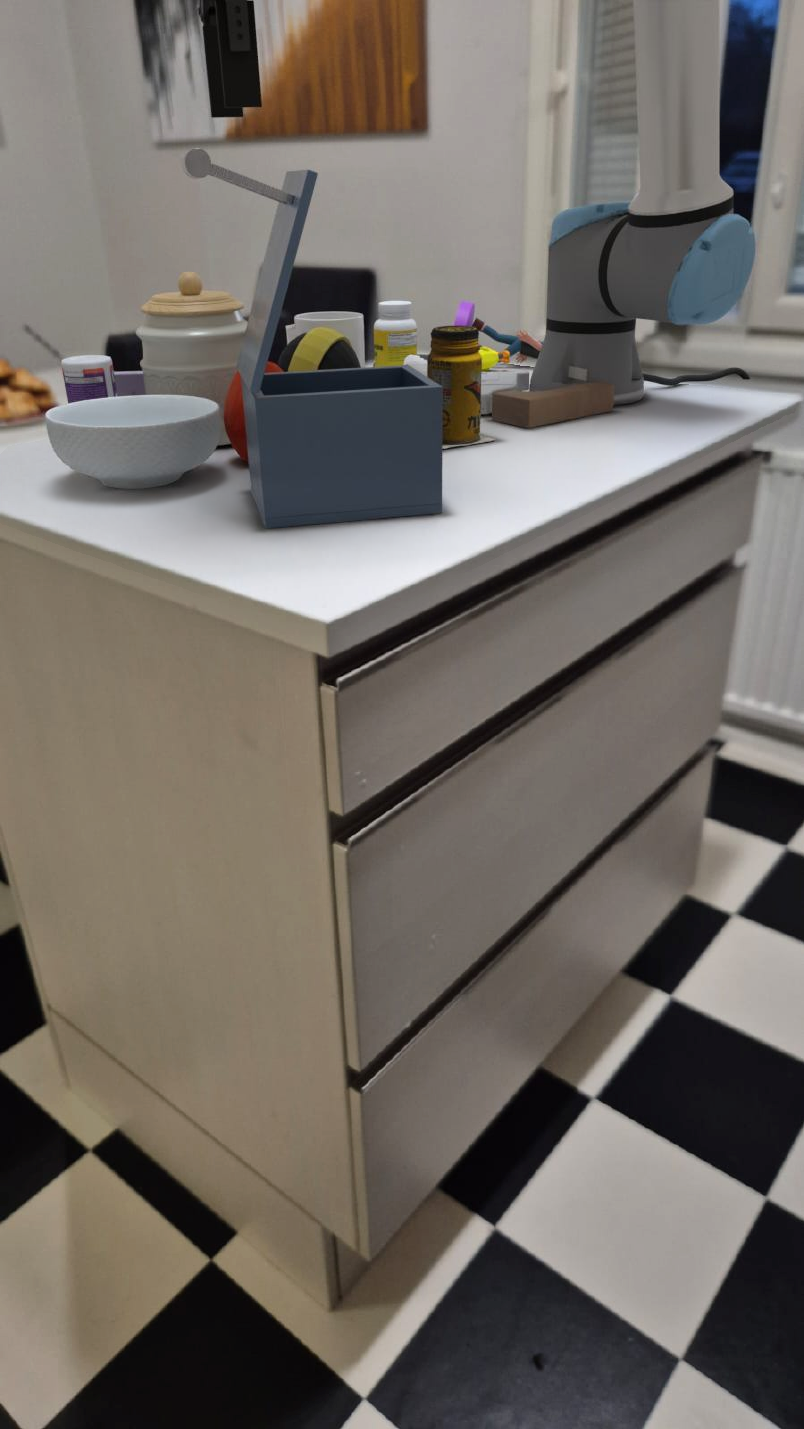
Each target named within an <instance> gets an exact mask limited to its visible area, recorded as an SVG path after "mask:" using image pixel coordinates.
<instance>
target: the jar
mask: <svg viewBox="0 0 804 1429" xmlns="http://www.w3.org/2000/svg"><path fill="white" fill-rule="evenodd" d="M177 287H178V290H179V291H171V292H170V291H169V292H163V293H158V294H154V295H152V296H151V298H150V300H148V301H147V302H146V303H144V304H143V305H142V306H140V312H141V313H142V314H145V317H144V322H143V323H142V324H140V326H139V327H138V328H137V329H136V330H135V335H136V336H137V337H138V338H139V339H140V340H141V345H142V359H141V360H140V362H139V365H140V368H141V371H143V378H144V385H145V392H146V395H184V396H194V397H200V398H205V399H209V400H212V401H214V402H216V403H217V404H218V406H219V409H220V422H221V424H220V428H221V429H220V438H219V442H218V445H217V447H218V446H224V445H225V446H227V445H231V442H230V440H229V438H228V436H227V433H226V430H225V425H224V419H223V418H224V408H225V400H226V397H227V394H228V391H229V388H230V385H231V382H232V380H233V378H234V376H235V374H236V372H237V368H236V366H237V362H238V358H239V354H240V351H241V347H242V343H243V339H244V335H245V331H246V327H247V323H248V320H246V319H245V318H244V317H243V314H242V312H241V310H243V309H244V308H245V304H244V303H243V302H242V301H240V300H239V299H237V298H235V297H234V296H232V294H231V293H230V292H227V291H219V290H203V280H202V278H201V276H200V275H199V274H198V273H197V272H194V271H184V272H182V273H181V274H180V275H179V277H178V281H177Z"/></svg>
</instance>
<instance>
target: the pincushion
mask: <svg viewBox="0 0 804 1429" xmlns="http://www.w3.org/2000/svg"><path fill="white" fill-rule="evenodd" d="M404 365H409V366H411V367H412V368H414V369H415V370H417V371H418V372H420V373H422V374H423V375H425V376H426V377H427V360H424V359H423V358H420V356H418V355H409V356H407V357H406V358H405V360H404Z"/></svg>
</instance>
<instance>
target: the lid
mask: <svg viewBox="0 0 804 1429" xmlns="http://www.w3.org/2000/svg"><path fill="white" fill-rule="evenodd" d="M181 158H182V159H181V169H182V170H183V173H184V174H185V175H186V176H187V177H189V178H191V179H193V180H197V179H198V180H199V179H204V178H206V177H207V176H210V177H212V178H215V179H218V180H220V181H223V182H225V183H228V184H231V185H234V186H236V187H239V188H240V189H241V188H242V189H243V190H246V191H249V192H251V193H255V194H257V195H260V196H262V197H265V198H268V199H270V200H273V201H275V202H278V203H277V206H276V211H275V214H274V218H273V222H272V226H271V227H272V228H271V231H270V234H269V238H268V242H267V245H266V246H267V247H266V249H265V254H264V257H263V261H262V265H261V269H260V273H259V277H258V281H257V285H256V288H255V291H254V292H255V293H254V297H253V300H252V305H251V309H250V312H249V316H248V319H247V322H248V323H247V327H246V331H245V335H244V339H243V343H242V347H241V351H240V354H239V358H238V362H237V366H236V368H237V370H238V371H239V373H240V375H241V377H242V378H243V380H244V382H245V383H246V385H247V387H248V389H249V390H250V391H251V392H255V393H259V392H260V388H261V384H262V380H263V377H264V373H265V369H266V365H267V362H268V361H269V358H270V354H271V350H272V347H273V343H274V339H275V335H276V332H277V328H278V325H279V321H280V316H281V314H282V309H283V306H284V302H285V298H286V295H287V291H288V288H289V287H288V286H289V284H290V280H291V276H292V272H293V270H294V265H295V261H296V259H297V258H296V257H297V254H298V250H299V246H300V242H301V239H302V236H303V231H304V227H305V225H306V220H307V216H308V212H309V210H310V205H311V202H312V197H313V194H314V190H315V187H316V183H317V180H318V176H319V172H316V171H314V170H312V169H299V170H289V171H286V172H285V176H284V179H283V185H282V188H281V189H279V188H277V187H274V186H272V185H269V184H266V183H264V182H261V181H259V180H256V179H253V178H251V177H248V176H246V175H244V174H242V173H241V174H240V173H238V172H235V171H233V170H230V169H228V168H225V167H223V166H220V165H218V164H215V163H212V159H211V156H210V155H209V153H208V152H207V151H206V150H204V149H203V148H200V147H194V148H191V149H190V150H188V151H186V152H185V153H184V154H183V156H182V157H181Z"/></svg>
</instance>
